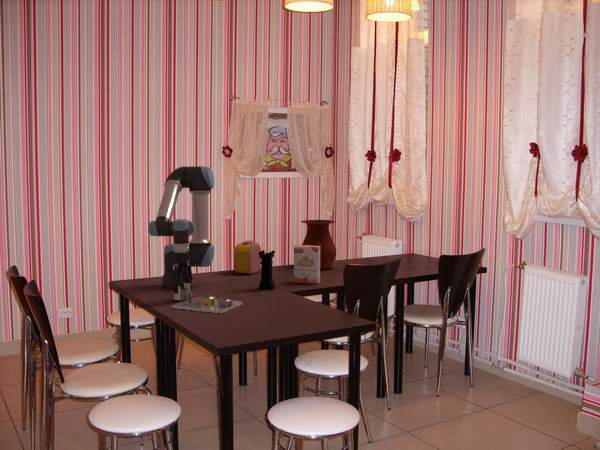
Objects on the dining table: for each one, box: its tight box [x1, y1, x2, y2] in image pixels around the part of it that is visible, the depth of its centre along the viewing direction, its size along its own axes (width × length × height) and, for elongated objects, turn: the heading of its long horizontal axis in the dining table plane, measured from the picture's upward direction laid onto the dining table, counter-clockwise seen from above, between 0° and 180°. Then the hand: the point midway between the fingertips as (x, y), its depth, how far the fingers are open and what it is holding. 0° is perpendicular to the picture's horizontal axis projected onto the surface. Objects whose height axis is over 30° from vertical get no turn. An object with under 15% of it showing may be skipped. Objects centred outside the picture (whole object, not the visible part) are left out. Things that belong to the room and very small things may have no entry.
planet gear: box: [173, 287, 189, 301], centre depth 317 cm, size 8×8×5 cm
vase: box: [300, 219, 337, 270], centre depth 413 cm, size 23×24×30 cm
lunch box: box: [233, 240, 262, 275], centre depth 395 cm, size 18×11×19 cm, turn 162°
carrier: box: [171, 292, 243, 314], centre depth 304 cm, size 26×20×6 cm
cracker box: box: [293, 244, 321, 285], centre depth 363 cm, size 14×6×21 cm, turn 77°
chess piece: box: [257, 249, 277, 291], centre depth 347 cm, size 8×8×20 cm
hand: (182, 297), depth 317 cm, fingers closed on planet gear, 8 cm apart
